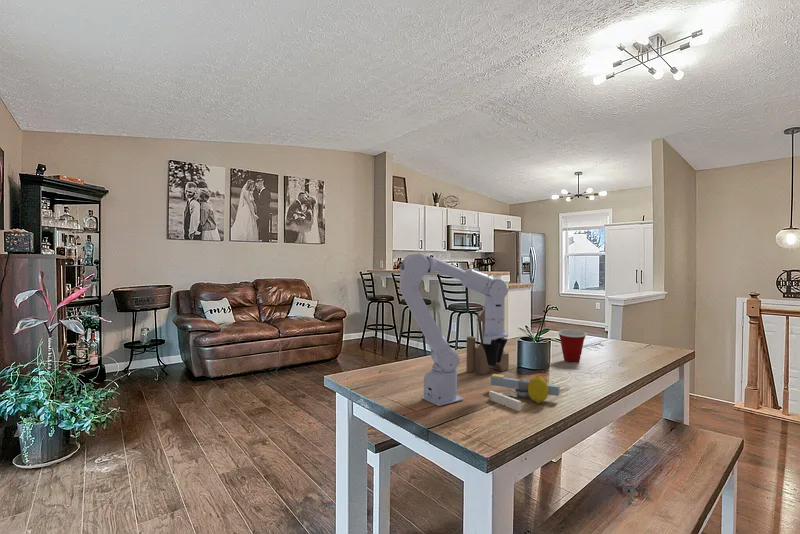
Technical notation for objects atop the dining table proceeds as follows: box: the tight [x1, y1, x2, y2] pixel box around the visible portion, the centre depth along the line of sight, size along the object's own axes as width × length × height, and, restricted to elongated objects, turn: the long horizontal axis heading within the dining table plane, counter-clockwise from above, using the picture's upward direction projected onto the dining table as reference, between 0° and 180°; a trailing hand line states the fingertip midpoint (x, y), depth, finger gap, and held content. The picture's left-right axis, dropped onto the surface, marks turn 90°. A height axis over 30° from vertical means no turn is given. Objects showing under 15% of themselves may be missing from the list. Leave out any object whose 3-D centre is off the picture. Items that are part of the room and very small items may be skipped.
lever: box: [490, 373, 561, 397], centre depth 124 cm, size 4×20×3 cm, turn 59°
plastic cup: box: [557, 329, 588, 363], centre depth 166 cm, size 11×11×12 cm
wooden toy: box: [465, 308, 510, 376], centre depth 151 cm, size 16×7×25 cm, turn 119°
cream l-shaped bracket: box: [488, 389, 522, 412], centre depth 118 cm, size 9×11×2 cm
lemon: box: [528, 375, 549, 405], centre depth 117 cm, size 6×6×8 cm
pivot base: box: [514, 389, 531, 400], centre depth 124 cm, size 5×5×2 cm
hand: (494, 363), depth 123 cm, fingers open, 4 cm apart
